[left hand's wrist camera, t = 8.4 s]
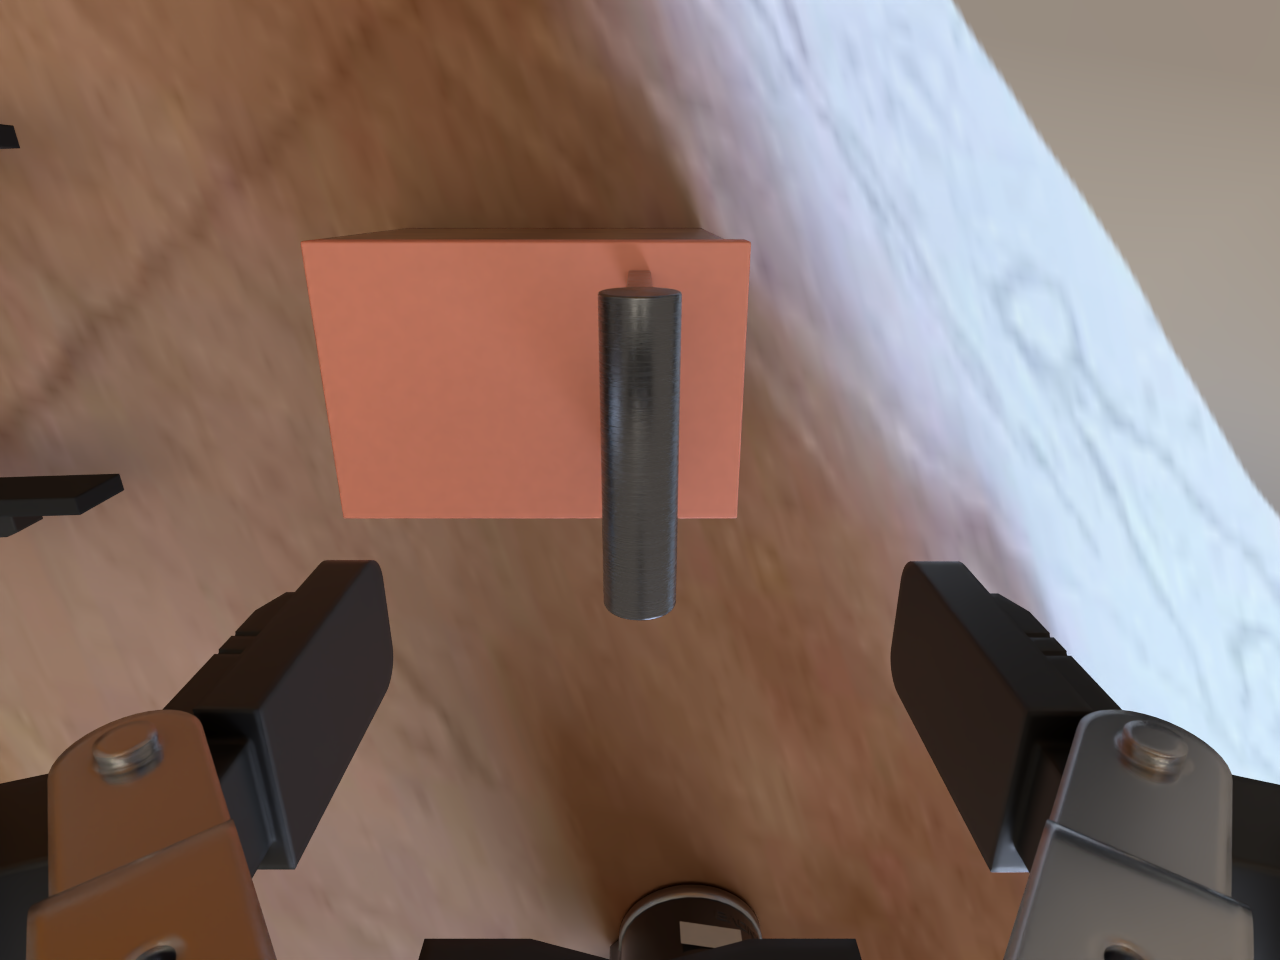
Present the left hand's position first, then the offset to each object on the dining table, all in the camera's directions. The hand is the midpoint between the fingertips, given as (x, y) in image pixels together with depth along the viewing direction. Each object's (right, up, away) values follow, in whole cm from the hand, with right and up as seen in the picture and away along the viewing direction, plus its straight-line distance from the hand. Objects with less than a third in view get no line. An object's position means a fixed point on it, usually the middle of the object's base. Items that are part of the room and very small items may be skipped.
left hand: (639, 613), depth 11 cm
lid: (-4, +5, +14) cm, 16 cm away
